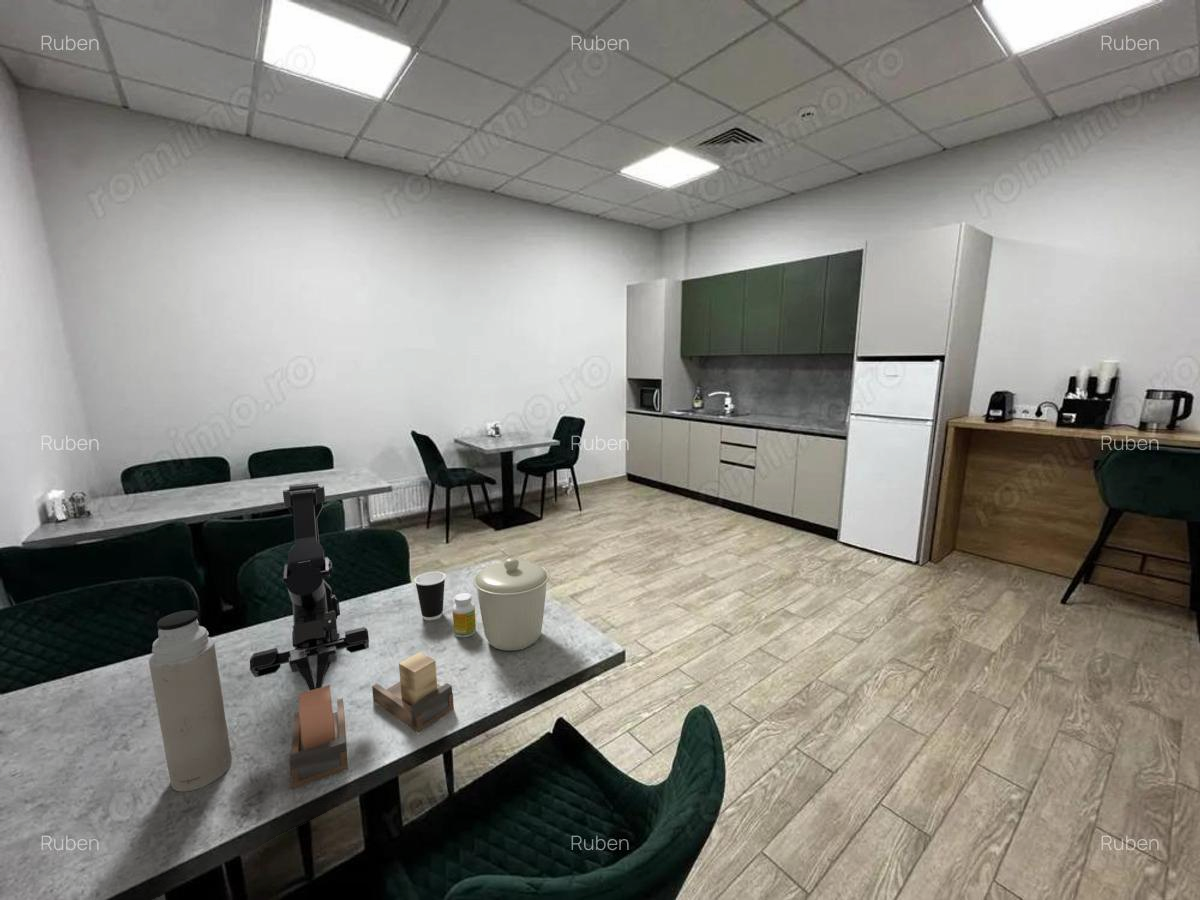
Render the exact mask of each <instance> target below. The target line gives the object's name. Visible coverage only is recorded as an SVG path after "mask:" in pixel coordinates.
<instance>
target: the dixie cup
mask: <svg viewBox="0 0 1200 900" xmlns="http://www.w3.org/2000/svg"><path fill="white" fill-rule="evenodd" d="M446 577H447V576H446V574H445V573H444V572H441V571H428V572H424V573H421V574H418V575H417V576H416V577H414V580H413V581H414V583H415V587H416V592H417V596H418V603H419V607H420V612H421V616H422V617H423V620H425V621H435V620H438V619H441V617H442V615H443V611H444V596H445V580H446Z"/></svg>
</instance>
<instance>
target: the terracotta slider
mask: <svg viewBox="0 0 1200 900" xmlns="http://www.w3.org/2000/svg"><path fill="white" fill-rule="evenodd" d="M331 693H332V692H331V684H328V685H325V686H322V687H320V688H317V689H313V690H306V691H303V692H299V702H298V711H299V717H300V725H301V733H302V741H303V749H304V750H306V749H309V748H312V747H315V746H318V745H321V744H324V743H327V742H330V741H333V740H335V728H334V719H333V713H334V711H333V703H332V702H333V701H332V694H331Z"/></svg>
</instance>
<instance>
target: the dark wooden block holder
mask: <svg viewBox="0 0 1200 900" xmlns="http://www.w3.org/2000/svg"><path fill="white" fill-rule="evenodd" d="M336 706H337V711H335V712H334V711H333V719H334V728H335V740H333V741H330V742H327V743H324V744H321V745H318V746H315V747H312V748H309V749H306V750H304V749H303V741H302V733H301V725H300V717H299V710H298V711H295V712H293V725H292V739H291V740H292V741H291V752H290V753H291V754H289V756H288V757H289V760H288V761H289V772H290V780H291V787H292V790H295V789H298V788H301V787H303V786H306V785H309V784H312V783H314V782H317V781H319V780H323V779H325V778H328V777H331V776H334V775H336V774H340V773H342V772H344V771H348V770H349V760H348V759H349V757H348V746H347V743H348V742H347V733H346V732H347V731H346V717H345V708H344V698H343V697H342V698H338V699H337V700H336ZM311 782H312V783H311Z"/></svg>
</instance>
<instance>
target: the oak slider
mask: <svg viewBox="0 0 1200 900" xmlns="http://www.w3.org/2000/svg"><path fill="white" fill-rule="evenodd" d="M398 669H399V671H398V672H399V682H400V684H401V696H402V701H404V702H405V703H407V704H408V705H410V706H411V705H413V704H415V703H416V702H418V701H419V700H421V699H422V698H424V697H426V696H427V695H429V694H430V693H432V692H433V691H435V690H437V684H438V679H437V665H436V659H433V658H432V657H430V656H428V655H427V654H425V653H423V652H421V651H419V652H417V653H415V654H413V655H411V656H410V657H407V658H405V659H404V660H402V661H400V662H399V663H398Z"/></svg>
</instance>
